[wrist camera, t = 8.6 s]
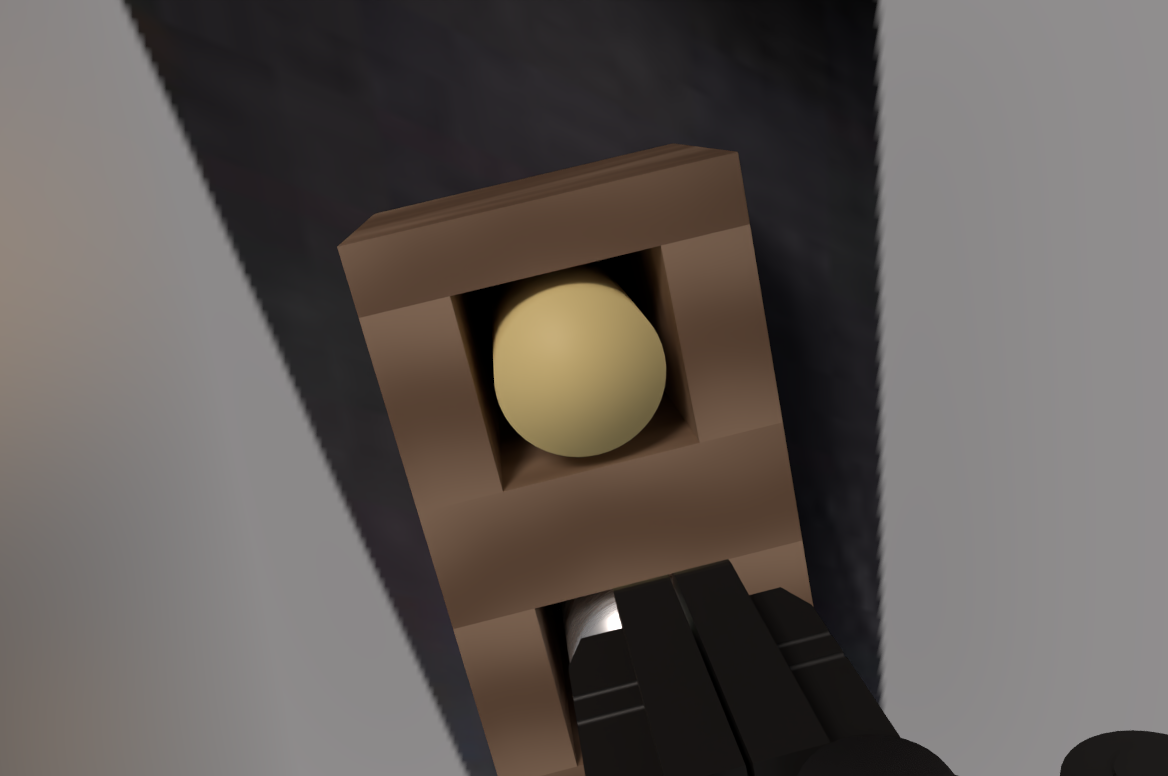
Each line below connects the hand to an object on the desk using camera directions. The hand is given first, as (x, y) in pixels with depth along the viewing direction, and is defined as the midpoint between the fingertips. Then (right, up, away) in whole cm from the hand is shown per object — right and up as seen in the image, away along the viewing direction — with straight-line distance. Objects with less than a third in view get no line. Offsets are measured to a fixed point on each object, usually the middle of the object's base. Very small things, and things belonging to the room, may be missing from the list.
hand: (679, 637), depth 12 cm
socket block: (-1, +2, +21) cm, 21 cm away
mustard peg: (-2, +6, +20) cm, 21 cm away
